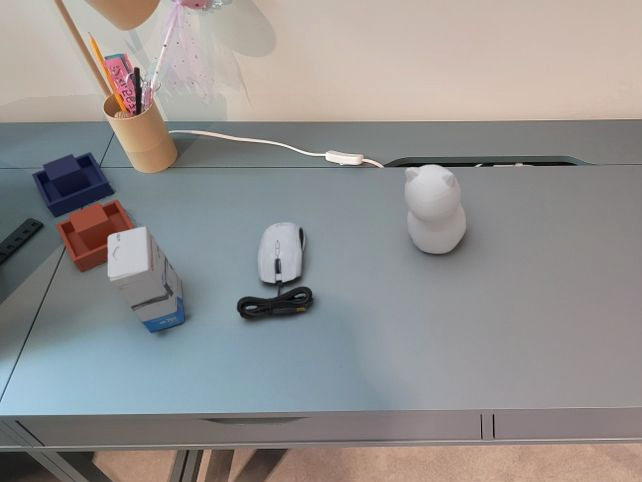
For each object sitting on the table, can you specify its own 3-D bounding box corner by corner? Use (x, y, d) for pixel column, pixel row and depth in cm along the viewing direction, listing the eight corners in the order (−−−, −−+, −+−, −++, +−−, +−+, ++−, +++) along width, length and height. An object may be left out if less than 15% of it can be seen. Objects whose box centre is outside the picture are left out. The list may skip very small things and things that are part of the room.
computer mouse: (316, 222, 102) (310, 204, 98) (314, 315, 90) (308, 298, 87) (251, 229, 100) (243, 211, 97) (241, 324, 89) (232, 307, 86)
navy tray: (55, 217, 101) (46, 206, 100) (39, 185, 106) (31, 174, 104) (114, 193, 105) (107, 181, 103) (97, 163, 110) (90, 151, 108)
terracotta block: (91, 253, 96) (76, 232, 93) (82, 235, 99) (67, 215, 95) (122, 239, 98) (108, 219, 95) (112, 222, 100) (98, 202, 97)
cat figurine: (401, 260, 97) (389, 187, 85) (420, 202, 105) (411, 128, 93) (460, 267, 96) (456, 194, 84) (474, 208, 104) (472, 134, 92)
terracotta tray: (81, 272, 95) (72, 261, 93) (63, 235, 99) (55, 224, 97) (143, 244, 98) (137, 233, 96) (124, 210, 103) (117, 198, 101)
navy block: (65, 201, 103) (49, 180, 100) (57, 185, 105) (42, 164, 102) (94, 189, 105) (80, 168, 101) (85, 174, 107) (72, 153, 103)
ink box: (185, 324, 89) (150, 270, 80) (147, 334, 88) (107, 281, 79) (181, 278, 94) (148, 223, 85) (145, 287, 93) (107, 232, 84)
